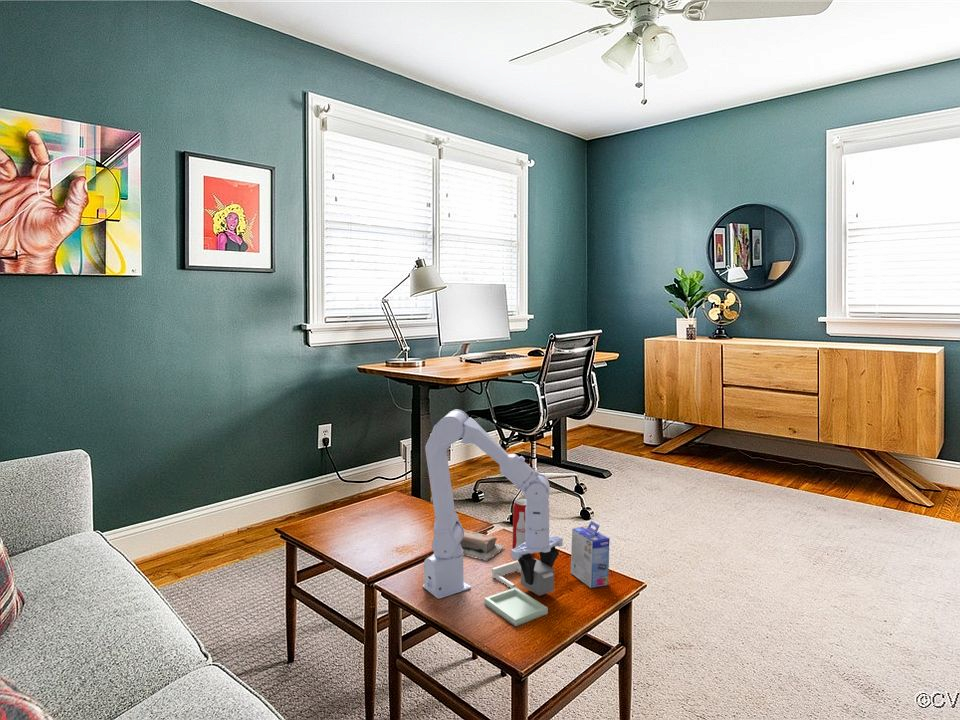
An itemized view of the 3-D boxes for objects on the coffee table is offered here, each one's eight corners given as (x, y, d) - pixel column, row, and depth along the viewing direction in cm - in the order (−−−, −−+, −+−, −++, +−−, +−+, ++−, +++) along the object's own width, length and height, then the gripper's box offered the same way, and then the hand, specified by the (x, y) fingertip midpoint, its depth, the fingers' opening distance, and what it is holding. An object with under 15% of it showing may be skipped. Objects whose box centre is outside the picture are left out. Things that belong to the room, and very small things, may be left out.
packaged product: (433, 533, 175) (453, 522, 183) (434, 549, 175) (453, 537, 184) (487, 545, 165) (505, 533, 174) (487, 562, 166) (505, 550, 174)
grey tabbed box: (541, 597, 142) (541, 574, 142) (520, 584, 149) (520, 563, 148) (556, 591, 145) (556, 569, 144) (535, 579, 151) (535, 558, 151)
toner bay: (510, 589, 149) (510, 579, 149) (492, 577, 156) (491, 568, 156) (537, 580, 154) (537, 570, 154) (518, 569, 161) (518, 559, 160)
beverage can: (521, 545, 176) (521, 495, 174) (538, 552, 171) (538, 500, 170) (507, 551, 172) (507, 500, 170) (524, 558, 167) (524, 505, 166)
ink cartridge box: (610, 585, 151) (610, 529, 150) (591, 589, 149) (592, 532, 147) (588, 569, 160) (588, 516, 159) (570, 573, 158) (570, 519, 156)
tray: (515, 626, 132) (515, 619, 132) (484, 604, 142) (484, 597, 142) (547, 613, 138) (547, 607, 137) (515, 593, 147) (515, 587, 147)
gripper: (523, 538, 138) (523, 595, 140) (571, 524, 146) (570, 578, 148) (505, 528, 144) (505, 583, 146) (551, 516, 152) (551, 568, 154)
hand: (537, 580), depth 147 cm, fingers closed on grey tabbed box, 5 cm apart
